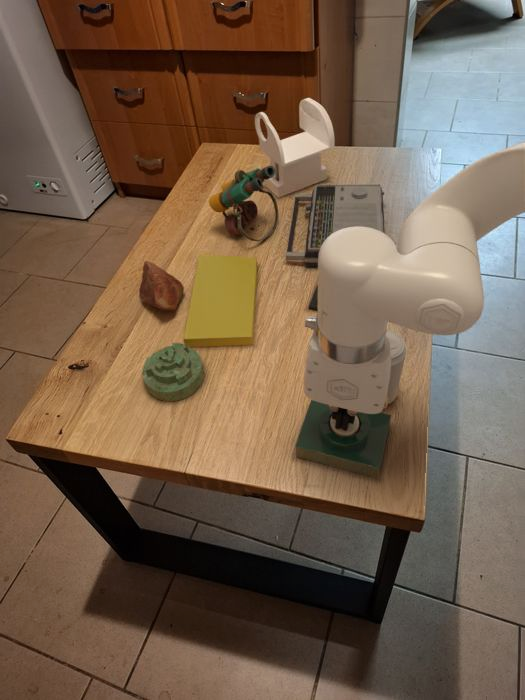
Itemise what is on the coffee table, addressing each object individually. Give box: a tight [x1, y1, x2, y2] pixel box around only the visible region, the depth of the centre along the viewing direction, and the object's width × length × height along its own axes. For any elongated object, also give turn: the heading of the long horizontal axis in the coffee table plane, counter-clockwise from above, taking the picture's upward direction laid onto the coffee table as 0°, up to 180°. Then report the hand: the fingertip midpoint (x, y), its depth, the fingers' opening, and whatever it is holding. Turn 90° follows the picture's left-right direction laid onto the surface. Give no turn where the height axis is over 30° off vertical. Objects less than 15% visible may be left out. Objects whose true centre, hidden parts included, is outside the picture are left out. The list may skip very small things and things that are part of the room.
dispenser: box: [294, 399, 392, 479], centre depth 70 cm, size 12×9×5 cm
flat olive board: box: [183, 253, 259, 348], centre depth 93 cm, size 12×2×24 cm
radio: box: [285, 183, 386, 269], centre depth 103 cm, size 24×5×20 cm
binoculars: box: [208, 165, 279, 242], centre depth 103 cm, size 14×14×15 cm
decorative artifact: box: [141, 342, 205, 402], centre depth 80 cm, size 10×7×10 cm
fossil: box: [138, 260, 185, 311], centre depth 93 cm, size 13×8×10 cm
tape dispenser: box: [254, 97, 336, 199], centre depth 113 cm, size 14×13×18 cm
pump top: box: [330, 416, 359, 438], centre depth 68 cm, size 4×4×2 cm
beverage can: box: [386, 328, 407, 406], centre depth 72 cm, size 6×6×12 cm
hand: (343, 421), depth 68 cm, fingers closed
